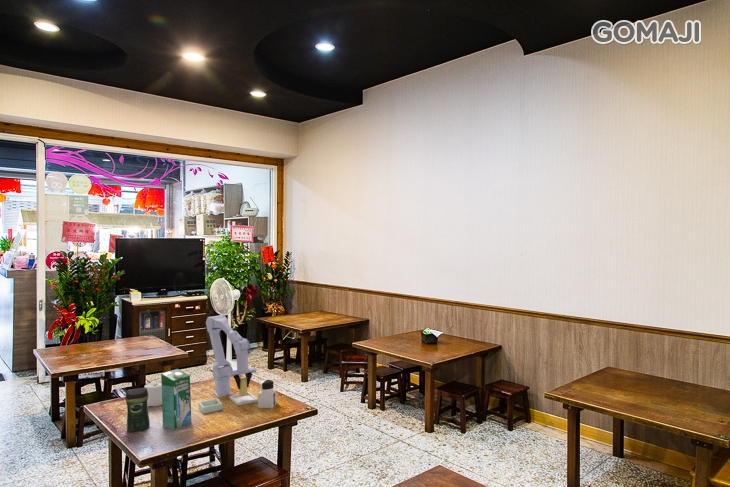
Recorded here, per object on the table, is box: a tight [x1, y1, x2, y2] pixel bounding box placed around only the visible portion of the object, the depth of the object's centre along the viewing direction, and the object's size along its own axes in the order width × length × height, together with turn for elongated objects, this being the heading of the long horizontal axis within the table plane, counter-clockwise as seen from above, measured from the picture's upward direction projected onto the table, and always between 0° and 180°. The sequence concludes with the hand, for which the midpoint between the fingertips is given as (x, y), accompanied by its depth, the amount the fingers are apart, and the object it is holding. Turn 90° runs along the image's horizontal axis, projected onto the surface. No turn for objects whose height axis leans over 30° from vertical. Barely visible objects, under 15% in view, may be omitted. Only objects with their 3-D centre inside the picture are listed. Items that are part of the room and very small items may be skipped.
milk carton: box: [160, 368, 192, 431], centre depth 221 cm, size 9×9×25 cm
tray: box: [228, 391, 258, 407], centre depth 252 cm, size 14×11×2 cm
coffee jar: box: [125, 387, 151, 432], centre depth 218 cm, size 10×8×19 cm
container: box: [257, 379, 278, 409], centre depth 244 cm, size 8×8×13 cm
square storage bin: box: [197, 397, 224, 414], centre depth 240 cm, size 10×10×4 cm
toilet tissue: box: [143, 380, 162, 407], centre depth 252 cm, size 11×12×10 cm
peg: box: [238, 376, 248, 396], centre depth 252 cm, size 4×4×9 cm
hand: (243, 387), depth 252 cm, fingers closed on peg, 4 cm apart
